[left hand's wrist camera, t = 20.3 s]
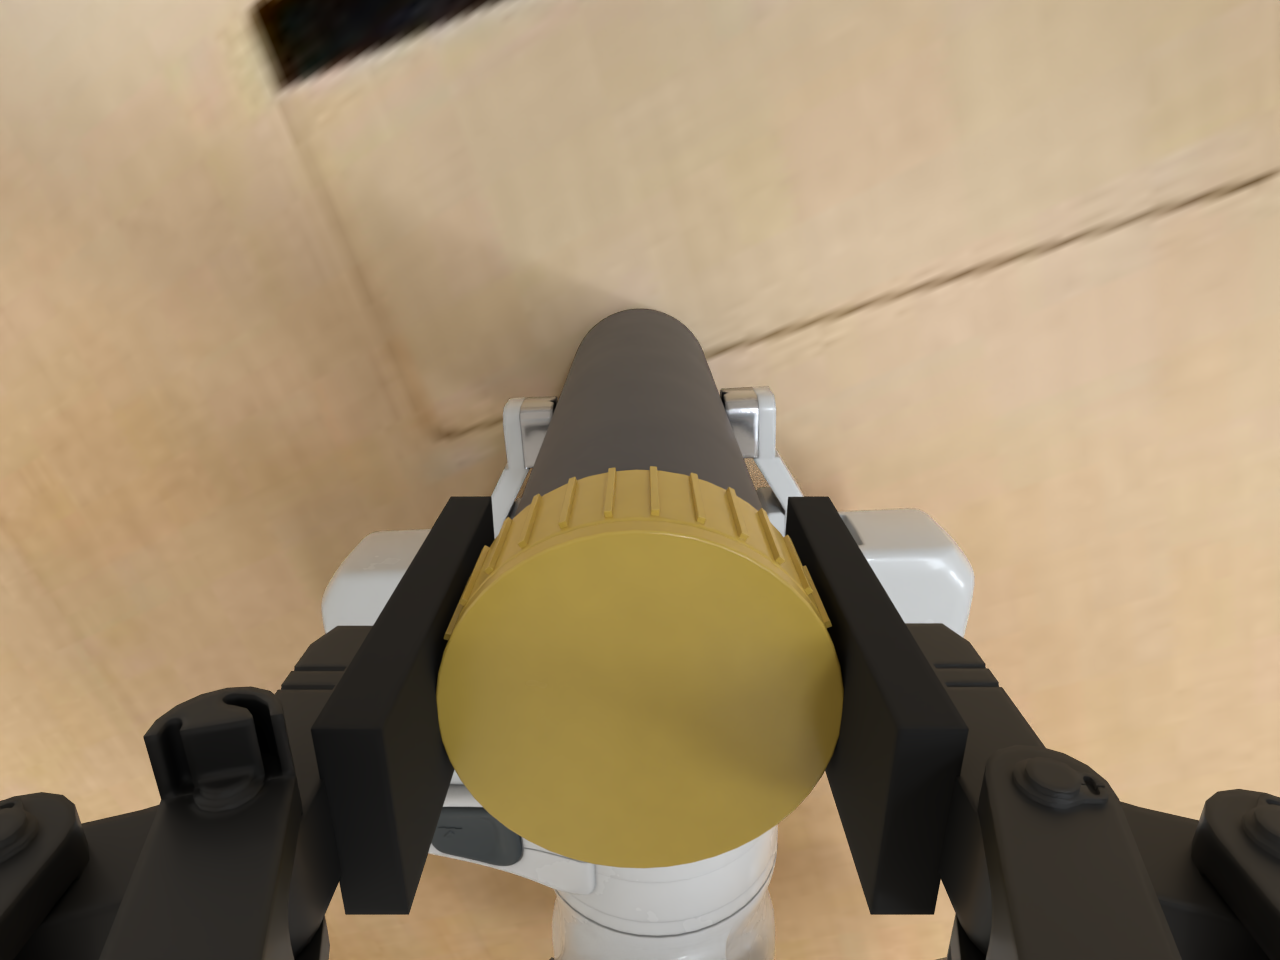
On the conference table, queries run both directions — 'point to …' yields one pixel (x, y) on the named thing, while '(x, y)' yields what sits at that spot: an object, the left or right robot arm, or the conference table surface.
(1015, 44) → the conference table surface
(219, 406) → the conference table surface
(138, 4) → the conference table surface
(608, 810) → the lid
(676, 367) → the dark grey cylinder
